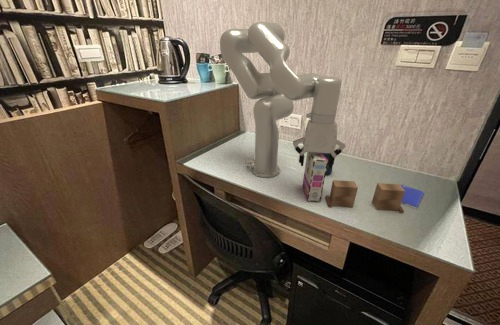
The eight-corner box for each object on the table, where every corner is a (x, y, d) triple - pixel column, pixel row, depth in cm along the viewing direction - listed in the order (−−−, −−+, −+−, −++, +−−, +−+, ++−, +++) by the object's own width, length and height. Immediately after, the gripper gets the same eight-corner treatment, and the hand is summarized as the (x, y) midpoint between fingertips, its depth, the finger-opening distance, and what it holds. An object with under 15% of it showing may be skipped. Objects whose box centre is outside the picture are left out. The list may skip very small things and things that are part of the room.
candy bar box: (321, 202, 84) (328, 161, 77) (307, 202, 84) (313, 160, 77) (314, 185, 94) (320, 147, 87) (302, 184, 94) (307, 146, 87)
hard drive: (400, 183, 94) (391, 197, 86) (424, 191, 89) (417, 206, 81) (399, 187, 94) (390, 200, 86) (423, 195, 90) (416, 210, 81)
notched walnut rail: (328, 207, 82) (332, 187, 78) (325, 197, 87) (328, 178, 83) (403, 213, 79) (410, 193, 76) (395, 202, 85) (402, 183, 81)
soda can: (313, 174, 102) (317, 148, 97) (316, 167, 108) (320, 142, 102) (330, 177, 99) (335, 151, 94) (332, 170, 105) (337, 145, 100)
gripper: (296, 120, 73) (291, 168, 81) (354, 122, 72) (343, 172, 80) (294, 113, 80) (290, 159, 88) (347, 115, 78) (338, 162, 86)
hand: (315, 165), depth 84 cm, fingers open, 9 cm apart
